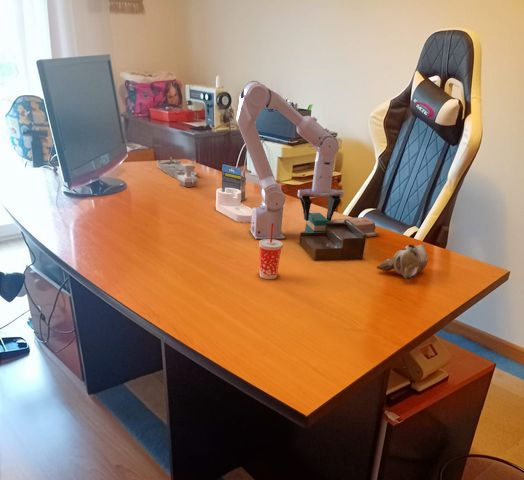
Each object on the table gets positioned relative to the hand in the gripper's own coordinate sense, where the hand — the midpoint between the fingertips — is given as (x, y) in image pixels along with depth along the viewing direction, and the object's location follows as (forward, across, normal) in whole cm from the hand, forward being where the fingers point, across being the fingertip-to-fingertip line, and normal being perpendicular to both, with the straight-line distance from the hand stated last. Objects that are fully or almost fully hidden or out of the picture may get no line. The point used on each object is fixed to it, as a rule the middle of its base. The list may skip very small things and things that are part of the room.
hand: (317, 219), depth 165 cm
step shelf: (+5, 0, -14) cm, 15 cm away
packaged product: (+6, +12, +2) cm, 13 cm away
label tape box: (+6, -18, +44) cm, 48 cm away
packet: (+5, 0, 0) cm, 5 cm away
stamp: (+5, -33, +64) cm, 72 cm away
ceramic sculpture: (+6, +15, -32) cm, 36 cm away
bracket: (+6, -21, +24) cm, 33 cm away
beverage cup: (+6, -24, -30) cm, 39 cm away
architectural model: (+5, -35, +87) cm, 94 cm away
